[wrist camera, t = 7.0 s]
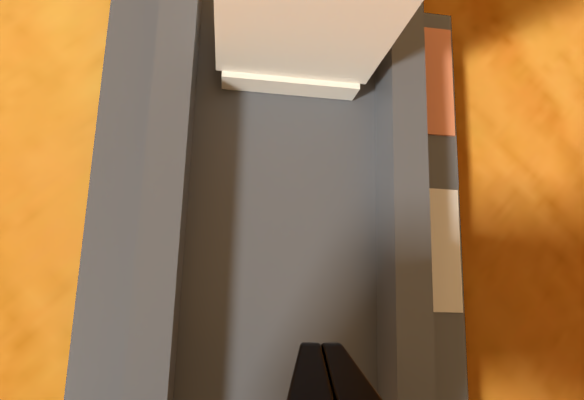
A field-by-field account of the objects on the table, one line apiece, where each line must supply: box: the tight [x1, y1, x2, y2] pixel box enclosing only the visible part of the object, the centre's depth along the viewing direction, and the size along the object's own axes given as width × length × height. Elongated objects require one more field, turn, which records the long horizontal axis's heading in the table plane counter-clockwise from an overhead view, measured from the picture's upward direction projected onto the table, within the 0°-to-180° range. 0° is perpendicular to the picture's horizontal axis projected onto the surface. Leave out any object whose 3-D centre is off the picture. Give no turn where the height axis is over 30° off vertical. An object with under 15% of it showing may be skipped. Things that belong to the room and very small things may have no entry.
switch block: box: [64, 0, 468, 400], centre depth 16 cm, size 16×13×3 cm
